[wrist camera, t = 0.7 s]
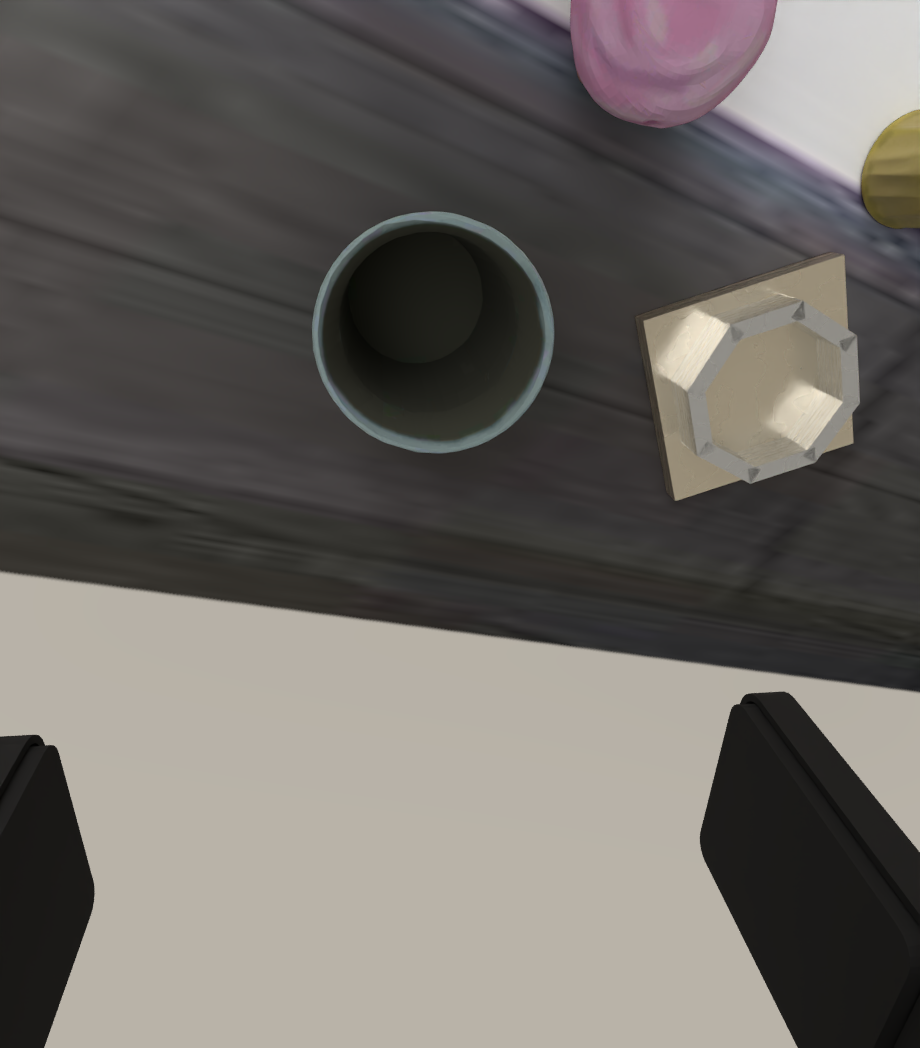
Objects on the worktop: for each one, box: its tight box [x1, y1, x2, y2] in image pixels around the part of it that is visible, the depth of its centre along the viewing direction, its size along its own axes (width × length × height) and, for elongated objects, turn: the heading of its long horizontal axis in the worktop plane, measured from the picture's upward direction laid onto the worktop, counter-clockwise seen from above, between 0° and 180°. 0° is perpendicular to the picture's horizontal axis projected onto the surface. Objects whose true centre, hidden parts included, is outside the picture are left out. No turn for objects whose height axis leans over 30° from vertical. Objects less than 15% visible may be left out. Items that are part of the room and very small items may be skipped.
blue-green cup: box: [312, 211, 554, 453], centre depth 36 cm, size 10×10×12 cm
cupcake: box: [570, 0, 777, 128], centre depth 33 cm, size 9×9×10 cm
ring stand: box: [635, 252, 860, 501], centre depth 44 cm, size 12×12×4 cm
